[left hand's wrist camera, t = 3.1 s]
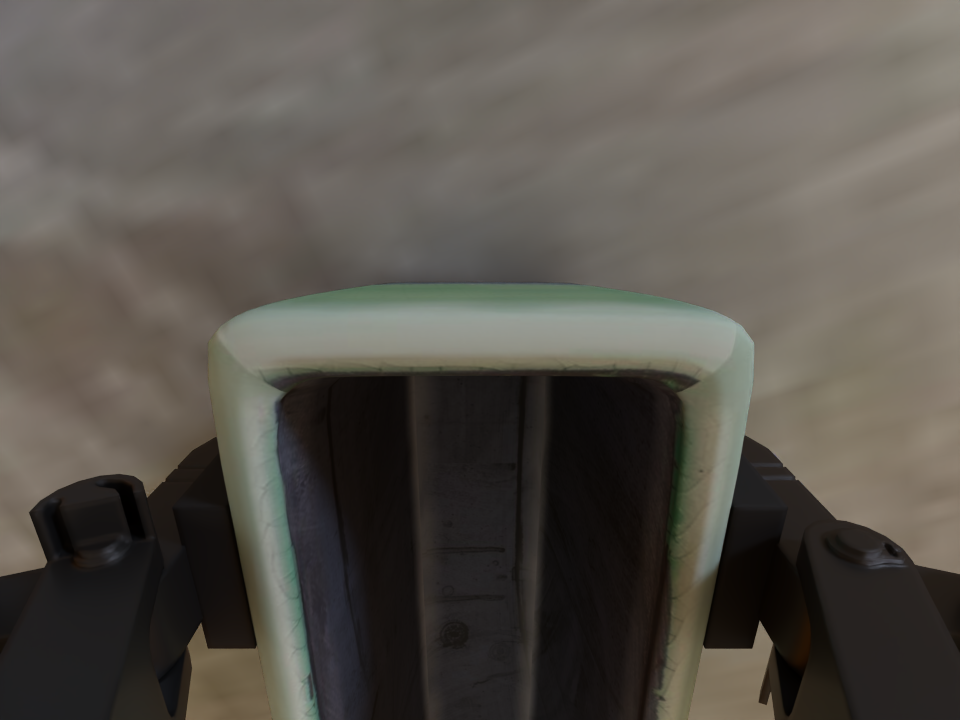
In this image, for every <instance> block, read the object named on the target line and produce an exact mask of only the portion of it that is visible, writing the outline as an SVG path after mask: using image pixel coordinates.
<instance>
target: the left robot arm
mask: <svg viewBox="0 0 960 720" xmlns="http://www.w3.org/2000/svg"><path fill="white" fill-rule="evenodd" d="M29 514H30V516H31V519H32V522H33V524H34V527H35V530H36V532H37V535H38V538H39V540H40V543H41V546H42V548H43V551H44V554H45V556H46V559H47V564H46V566H45V567H44V568H40V569H36V570H31V571H26V572H21V573H16V574H12V575H7V576H2V577H0V720H185V718H186V710H187V702H188V694H189V687H190V679H191V671H192V665H191V659H190V654H189V650H188V647H187V645H188V643H189V642H190V640H191V638H192V637H193V635H194V633H195V632H196V630H197V628H198V627H199V625H200V623H202V627H203V631H204V635H205V639H206V643H207V646H208V648H256V646H257V642H256V637H255V632H254V627H253V623H252V618H251V613H250V608H249V603H248V598H247V593H246V588H245V583H244V577H243V572H242V567H241V562H240V557H239V552H238V547H237V542H236V537H235V532H234V526H233V521H232V516H231V511H230V506H229V501H228V496H227V491H226V486H225V481H224V476H223V470H222V465H221V459H220V453H219V447H218V441H217V437H215V438H213V439H211V440H210V441H208V442H206V443H205V444H203V445H201V446H199V447H198V448H196V449H194V450H193V451H192V452H191V453H190V454H189V455H188V456H187V457H186V458H185V459H184V460H183V461H182V462H181V463H180V464H179V465H178V469H174V471H173V472H172V473H171V474H170V475H169V476H168V477H167V478H166V481H165V482H162V483H161V484H160V485H159V486H158V487H157V488H156V489H155V490H154V491H153V493H152V494H151V495H150V496H149V497H148V498H147V497H146V493H145V490H144V486H143V482H142V481H140V480H139V479H137V478H136V477H134V476H129V475H122V474H115V475H104V476H97V477H94V478H90V479H86V480H82V481H78V482H76V483H73V484H71V485H69V486H66V487H64V488H61V489H59V490H57V491H55V492H54V493H52V494H50V495H49V496H47V497H46V498H44V499H42V500H41V501H40V502H39V503H38V504H37V505H36V506H35V507H34V508H33V509H32V510H31V511H30V512H29ZM759 620H760V621H761V623H762V625H763V626H764V628H765V630H766V632H767V633H768V635H769V637H770V638H771V640H772V642H773V647H772V650H771V654H770V658H769V661H768V665H767V668H766V672H765V676H764V679H763V683H762V687H761V690H760V697H759V703H762V704H765V705H767V702H768V698H769V695H770V692H771V693H772V700H773V708H774V716H775V720H960V574H956V573H951V572H946V571H941V570H937V569H932V568H927V567H922V566H918V565H914V563H913V561H912V560H911V558H910V557H909V556H908V555H907V554H906V552H905V551H904V550H903V549H902V548H901V547H900V546H898V545H897V544H896V543H894V542H893V541H891V540H890V539H889V538H887V537H886V536H884V535H882V534H880V533H878V532H876V531H873V530H871V529H869V528H867V527H864V526H861V525H858V524H854V523H851V522H847V521H840V520H836V519H835V518H834V517H833V516H832V515H831V514H830V512H829V511H828V510H827V509H826V508H825V507H824V506H823V505H822V504H821V503H820V502H819V501H818V500H817V499H816V498H815V497H814V496H813V495H812V494H811V493H810V492H809V491H808V490H807V489H806V488H805V486H804V485H803V484H802V483H801V482H800V481H799V480H795V476H794V475H793V474H792V473H791V472H790V471H789V470H788V469H787V468H786V467H783V464H782V463H781V462H780V460H779V459H778V458H777V457H776V456H775V455H774V454H773V453H772V452H771V451H770V450H769V449H768V448H766V447H764V446H763V445H761V444H759V443H757V442H756V441H754V440H752V439H751V438H749V437H747V436H744V440H743V446H742V452H741V458H740V464H739V469H738V474H737V479H736V484H735V489H734V494H733V499H732V504H731V509H730V514H729V519H728V524H727V529H726V534H725V539H724V544H723V549H722V554H721V559H720V564H719V569H718V574H717V579H716V584H715V589H714V594H713V599H712V604H711V608H710V613H709V618H708V623H707V628H706V633H705V637H704V642H703V645H704V647H705V649H752V648H753V644H754V640H755V636H756V632H757V628H758V624H759Z"/></svg>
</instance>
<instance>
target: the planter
mask: <svg viewBox="0 0 960 720" xmlns="http://www.w3.org/2000/svg"><path fill="white" fill-rule="evenodd" d="M753 371H754V342H753V341H752V340H751V338H750V337H749V335H748V334H747V333H746V331H745V330H744V328H743V327H742V326H741V325H739V324H738V323H736V322H735V321H733V320H732V319H730V318H728V317H726V316H724V315H722V314H720V313H718V312H715V311H712V310H709V309H706V308H703V307H700V306H696V305H693V304H689V303H685V302H681V301H678V300H673V299H667V298H662V297H657V296H652V295H647V294H641V293H635V292H628V291H622V290H616V289H609V288H602V287H595V286H588V285H580V284H570V283H534V282H411V283H386V284H378V285H370V286H363V287H356V288H349V289H342V290H336V291H330V292H324V293H318V294H312V295H307V296H302V297H297V298H292V299H287V300H282V301H279V302H275V303H271V304H268V305H264V306H261V307H258V308H255V309H252V310H249V311H246V312H244V313H242V314H240V315H237V316H235V317H233V318H232V319H230V320H229V321H227V322H226V323H224V324H222V325H221V326H220V327H219V329H218V330H217V331H216V332H215V334H214V335H213V336H212V338H211V339H210V341H209V342H208V385H209V391H210V397H211V403H212V410H213V416H214V422H215V428H216V434H217V441H218V447H219V453H220V459H221V465H222V470H223V476H224V481H225V486H226V491H227V496H228V501H229V506H230V511H231V516H232V521H233V526H234V532H235V537H236V542H237V547H238V552H239V557H240V562H241V567H242V572H243V577H244V583H245V588H246V593H247V598H248V603H249V608H250V613H251V618H252V623H253V627H254V632H255V637H256V642H257V647H258V652H259V657H260V662H261V667H262V672H263V677H264V682H265V687H266V692H267V697H268V702H269V706H270V711H271V716H272V720H688V715H689V710H690V705H691V700H692V696H693V691H694V686H695V681H696V676H697V671H698V667H699V662H700V657H701V652H702V647H703V642H704V637H705V633H706V628H707V623H708V618H709V613H710V608H711V604H712V599H713V594H714V589H715V584H716V579H717V574H718V569H719V564H720V559H721V554H722V549H723V544H724V539H725V534H726V529H727V524H728V519H729V514H730V509H731V504H732V499H733V494H734V489H735V484H736V479H737V474H738V469H739V464H740V458H741V452H742V446H743V440H744V434H745V428H746V422H747V416H748V410H749V404H750V398H751V392H752V386H753Z"/></svg>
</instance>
